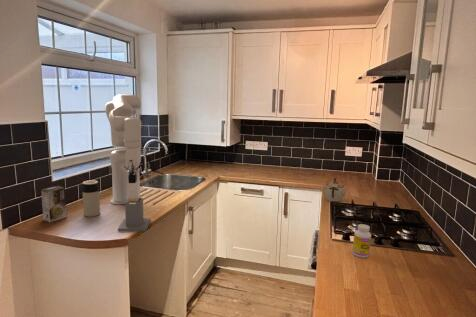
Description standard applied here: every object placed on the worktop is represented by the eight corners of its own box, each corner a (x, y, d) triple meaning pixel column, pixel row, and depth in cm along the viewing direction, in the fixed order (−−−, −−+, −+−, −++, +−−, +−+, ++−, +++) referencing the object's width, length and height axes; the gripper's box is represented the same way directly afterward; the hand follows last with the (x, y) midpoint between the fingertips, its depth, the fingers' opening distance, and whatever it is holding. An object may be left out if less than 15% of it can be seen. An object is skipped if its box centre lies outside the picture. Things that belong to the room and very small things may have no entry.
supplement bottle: (358, 259, 131) (362, 229, 129) (348, 251, 137) (351, 223, 135) (372, 257, 133) (375, 228, 130) (362, 250, 139) (365, 222, 137)
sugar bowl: (323, 194, 222) (325, 174, 219) (346, 197, 217) (348, 176, 214) (319, 202, 204) (321, 180, 202) (343, 206, 199) (346, 183, 196)
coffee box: (60, 214, 168) (58, 185, 165) (67, 217, 165) (65, 187, 162) (42, 219, 160) (40, 189, 157) (49, 222, 157) (47, 191, 154)
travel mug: (100, 215, 169) (99, 183, 165) (84, 217, 165) (82, 184, 162) (99, 211, 176) (97, 179, 172) (83, 212, 172) (81, 180, 169)
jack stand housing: (124, 221, 162) (123, 196, 160) (150, 221, 164) (150, 196, 161) (117, 231, 149) (116, 204, 147) (146, 231, 151) (145, 204, 148)
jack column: (130, 208, 157) (129, 168, 153) (140, 208, 158) (139, 168, 154) (128, 211, 152) (127, 170, 149) (138, 211, 153) (137, 171, 149)
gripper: (128, 141, 157) (129, 176, 160) (119, 146, 140) (121, 185, 144) (144, 142, 158) (145, 176, 161) (137, 147, 141) (138, 185, 144)
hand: (133, 180), depth 152 cm, fingers open, 6 cm apart
